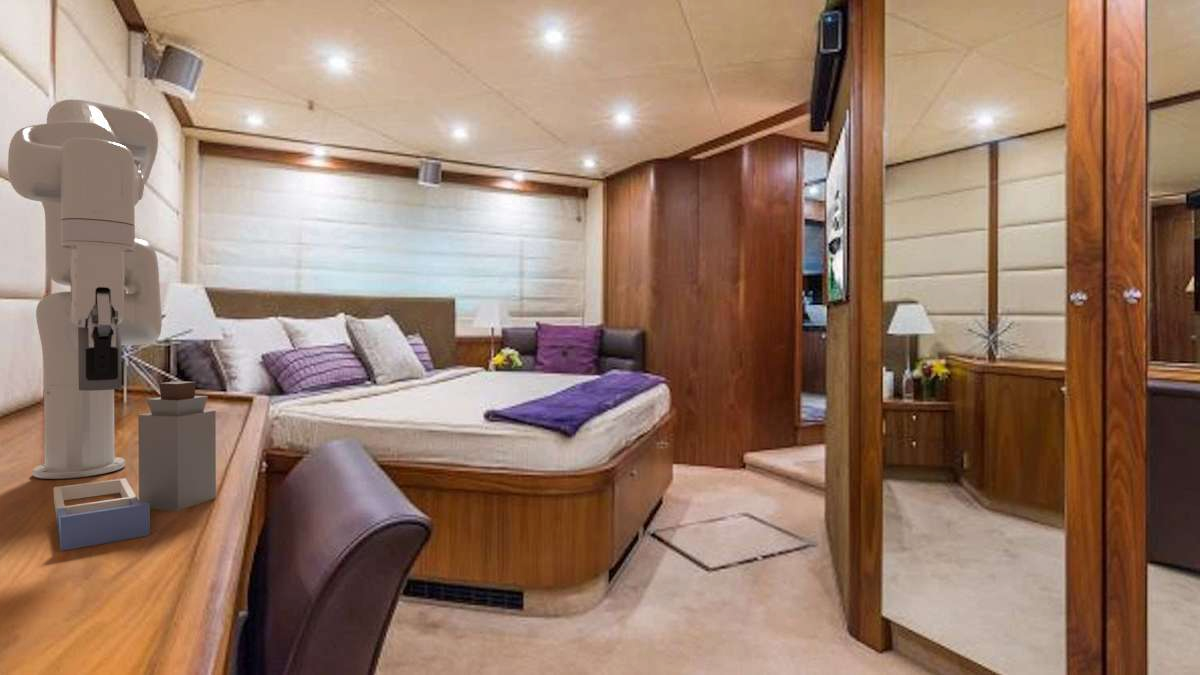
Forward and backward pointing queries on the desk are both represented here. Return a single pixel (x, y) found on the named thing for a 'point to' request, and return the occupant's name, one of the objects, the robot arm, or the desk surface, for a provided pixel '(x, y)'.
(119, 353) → the grey two-tone upright block
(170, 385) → the perfume bottle
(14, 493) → the desk surface
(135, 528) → the blue-fronted open tray
